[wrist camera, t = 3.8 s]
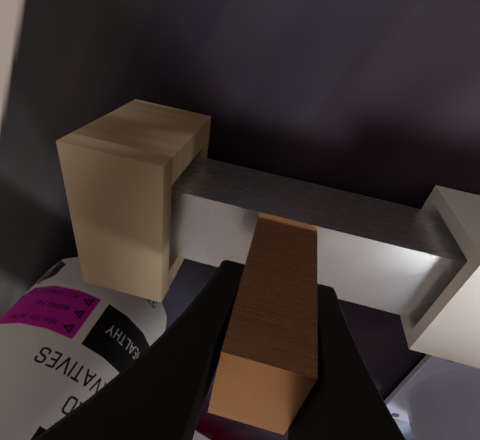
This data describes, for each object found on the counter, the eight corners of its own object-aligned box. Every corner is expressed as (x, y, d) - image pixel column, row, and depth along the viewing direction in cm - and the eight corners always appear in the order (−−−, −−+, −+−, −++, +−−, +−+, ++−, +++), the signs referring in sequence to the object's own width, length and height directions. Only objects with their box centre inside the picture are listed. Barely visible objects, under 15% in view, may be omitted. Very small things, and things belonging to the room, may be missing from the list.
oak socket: (211, 116, 13) (163, 166, 9) (199, 229, 16) (161, 302, 12) (135, 98, 13) (55, 140, 9) (139, 214, 17) (83, 281, 13)
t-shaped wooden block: (532, 235, 12) (788, 508, 6) (485, 287, 14) (637, 541, 7) (166, 148, 13) (17, 291, 7) (165, 206, 15) (45, 365, 8)
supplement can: (46, 296, 23) (-258, 625, 11) (71, 225, 18) (-415, 663, 6) (144, 349, 24) (-29, 694, 12) (191, 295, 20) (-14, 768, 7)
